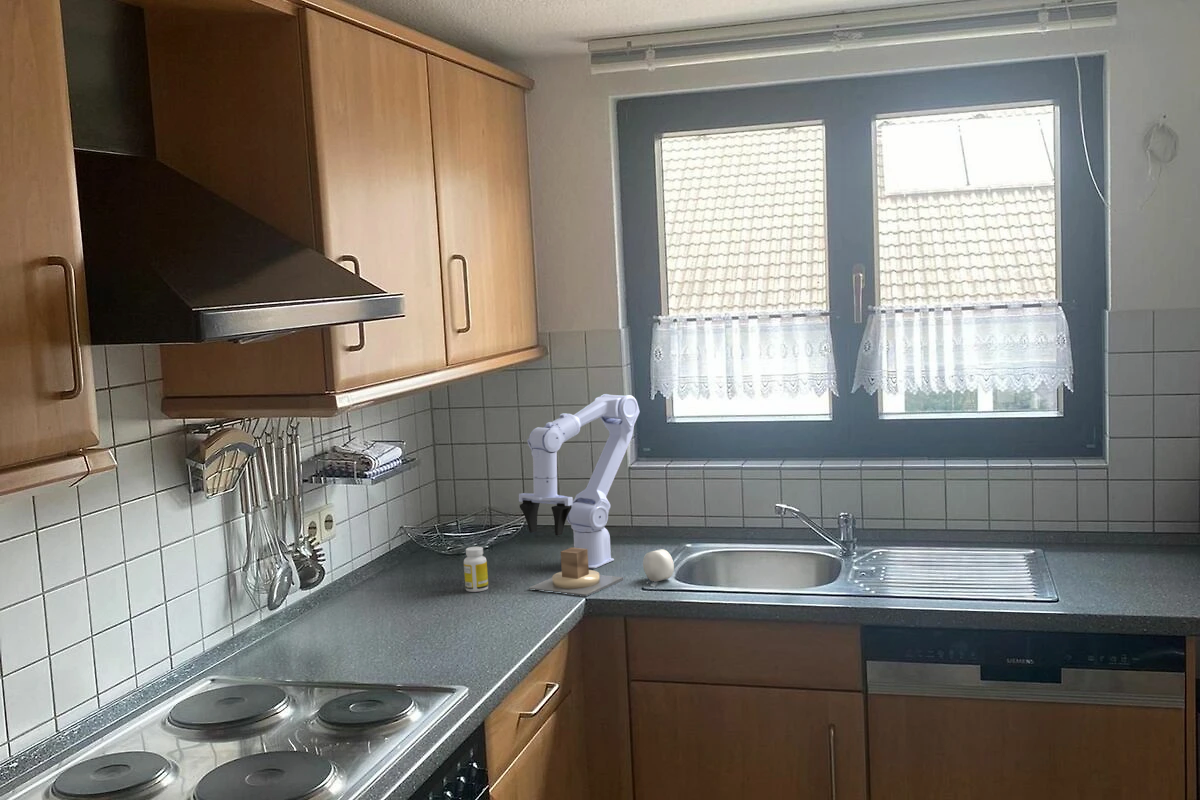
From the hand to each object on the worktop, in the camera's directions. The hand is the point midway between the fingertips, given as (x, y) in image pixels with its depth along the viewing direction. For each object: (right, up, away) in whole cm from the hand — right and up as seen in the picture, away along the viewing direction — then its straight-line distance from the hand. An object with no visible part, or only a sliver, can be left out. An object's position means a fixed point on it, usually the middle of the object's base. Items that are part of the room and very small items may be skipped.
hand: (545, 533), depth 284 cm
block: (+7, -9, -9) cm, 15 cm away
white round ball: (+25, -7, -10) cm, 28 cm away
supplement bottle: (-16, -12, -8) cm, 22 cm away
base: (+7, -11, -9) cm, 16 cm away
